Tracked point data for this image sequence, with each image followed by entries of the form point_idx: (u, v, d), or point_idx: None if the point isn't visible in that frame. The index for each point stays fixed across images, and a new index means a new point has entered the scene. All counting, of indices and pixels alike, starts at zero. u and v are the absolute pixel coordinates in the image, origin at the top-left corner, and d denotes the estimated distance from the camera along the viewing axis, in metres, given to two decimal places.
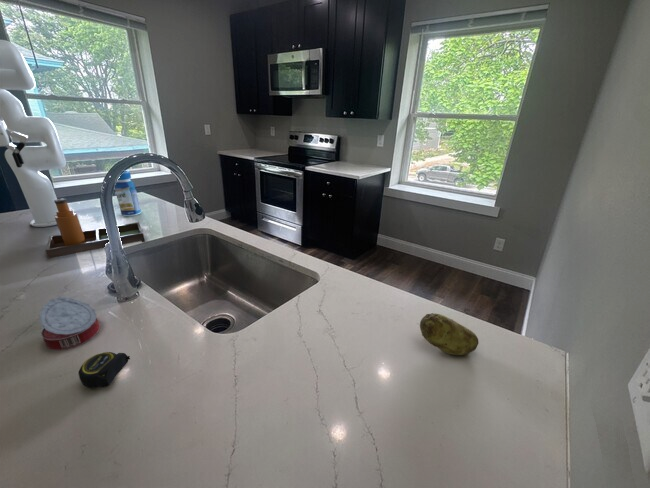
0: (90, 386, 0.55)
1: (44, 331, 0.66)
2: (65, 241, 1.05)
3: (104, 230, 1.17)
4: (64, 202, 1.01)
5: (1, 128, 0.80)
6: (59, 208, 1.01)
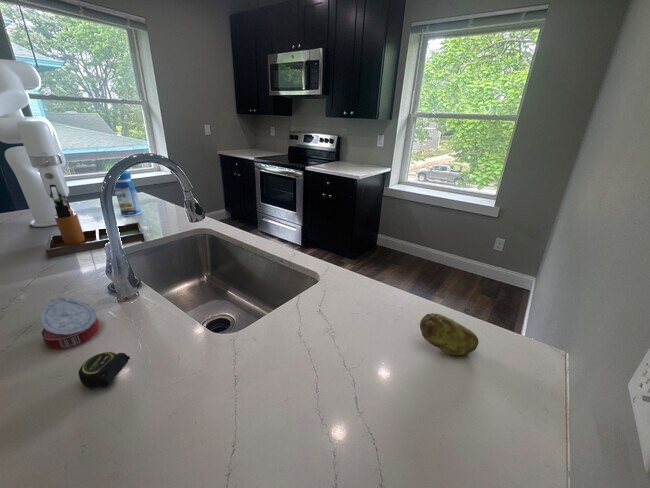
0: (90, 386, 0.55)
1: (44, 331, 0.66)
2: (65, 241, 1.05)
3: (104, 230, 1.17)
4: None
5: (44, 185, 0.94)
6: None
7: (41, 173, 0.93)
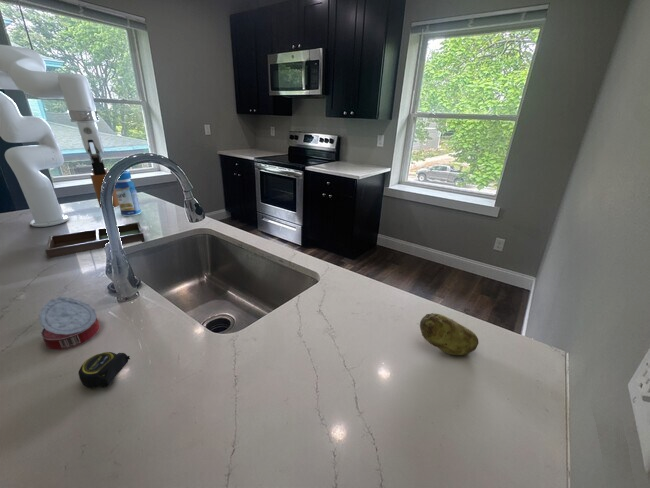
0: (90, 386, 0.55)
1: (44, 331, 0.66)
2: (99, 199, 1.06)
3: (104, 230, 1.17)
4: None
5: (82, 139, 0.95)
6: None
7: (80, 127, 0.94)
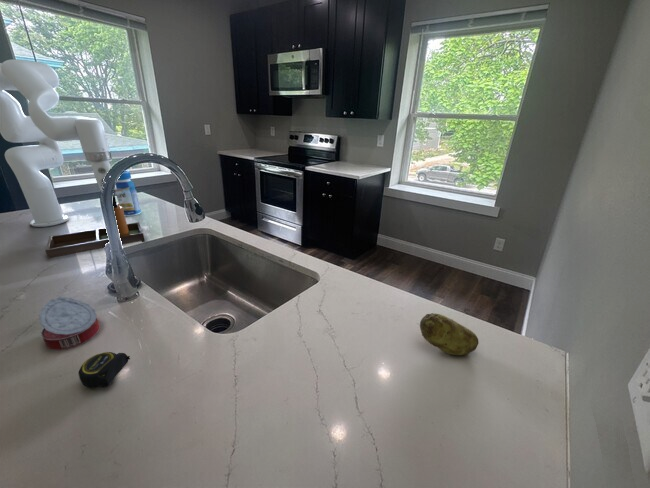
0: (90, 386, 0.55)
1: (44, 331, 0.66)
2: None
3: (104, 230, 1.17)
4: None
5: (96, 178, 1.01)
6: None
7: (94, 168, 1.00)
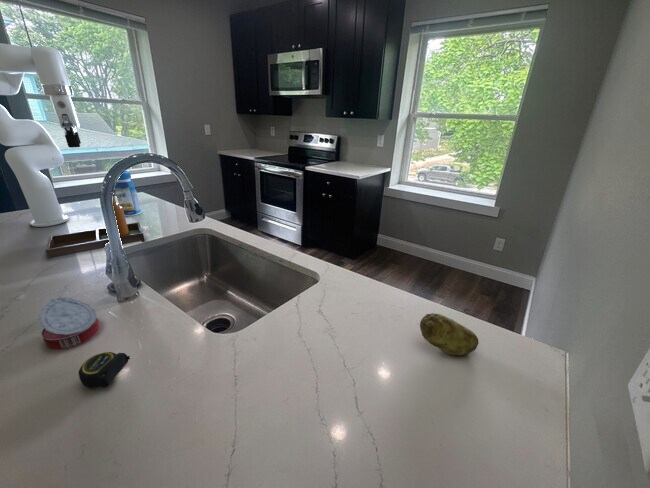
0: (90, 386, 0.55)
1: (44, 331, 0.66)
2: None
3: (104, 230, 1.17)
4: None
5: (56, 113, 0.97)
6: None
7: (53, 101, 0.96)
